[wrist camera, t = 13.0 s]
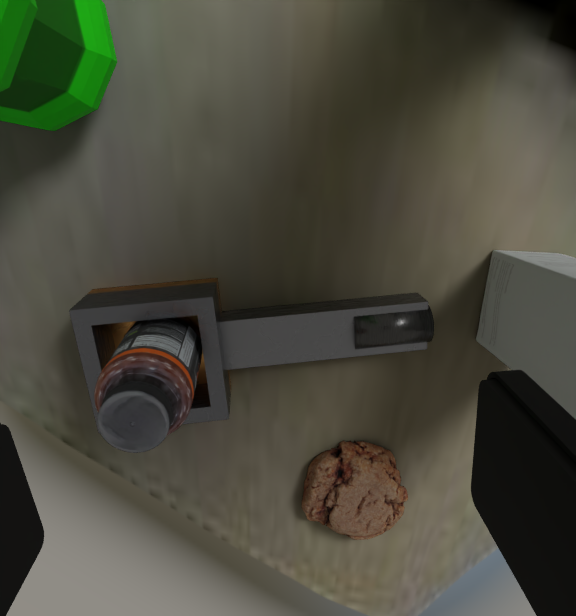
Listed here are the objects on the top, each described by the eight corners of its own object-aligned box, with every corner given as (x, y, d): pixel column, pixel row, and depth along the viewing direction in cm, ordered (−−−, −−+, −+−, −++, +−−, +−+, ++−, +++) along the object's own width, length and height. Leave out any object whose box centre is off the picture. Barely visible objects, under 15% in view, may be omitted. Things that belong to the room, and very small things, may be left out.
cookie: (360, 542, 47) (368, 568, 44) (277, 492, 44) (279, 516, 41) (429, 474, 45) (441, 496, 42) (346, 417, 42) (353, 437, 39)
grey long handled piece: (420, 259, 38) (445, 275, 33) (418, 367, 41) (440, 396, 36) (92, 289, 36) (68, 310, 31) (116, 398, 39) (98, 433, 35)
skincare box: (536, 341, 41) (686, 443, 27) (469, 340, 40) (587, 442, 26) (559, 246, 38) (740, 303, 24) (488, 243, 38) (631, 299, 24)
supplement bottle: (185, 390, 38) (160, 484, 28) (114, 361, 37) (60, 447, 26) (216, 328, 37) (203, 402, 26) (144, 296, 35) (100, 359, 25)
